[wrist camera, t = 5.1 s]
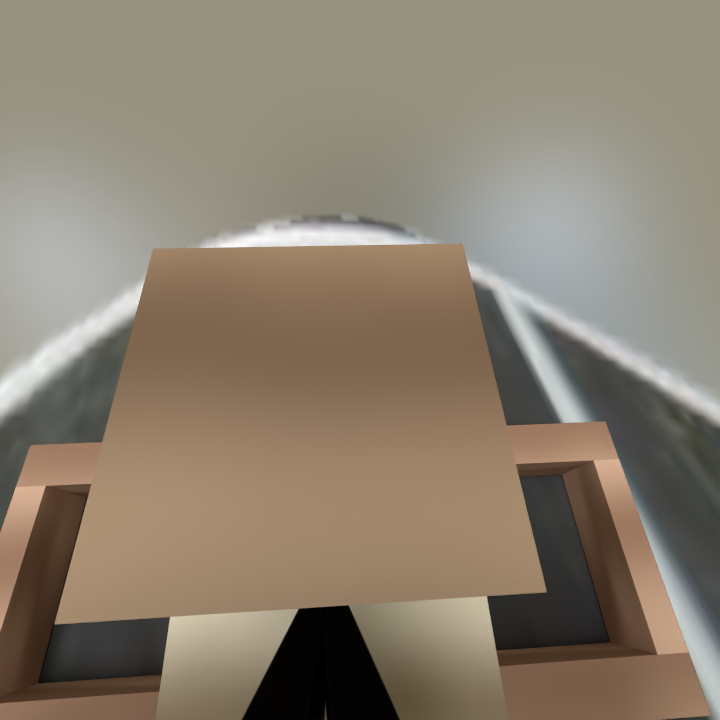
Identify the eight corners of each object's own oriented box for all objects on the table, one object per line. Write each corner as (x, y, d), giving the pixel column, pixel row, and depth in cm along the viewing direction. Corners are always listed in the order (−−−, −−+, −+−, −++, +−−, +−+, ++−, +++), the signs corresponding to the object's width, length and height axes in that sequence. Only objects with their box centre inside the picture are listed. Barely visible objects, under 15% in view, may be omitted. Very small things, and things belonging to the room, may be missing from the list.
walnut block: (424, 583, 13) (546, 592, 5) (236, 595, 13) (54, 624, 5) (404, 411, 16) (462, 243, 8) (251, 416, 15) (153, 248, 8)
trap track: (803, 1170, 10) (939, 1348, 7) (-176, 1316, 8) (-361, 1579, 6) (529, 298, 22) (549, 267, 20) (116, 308, 21) (88, 276, 18)
